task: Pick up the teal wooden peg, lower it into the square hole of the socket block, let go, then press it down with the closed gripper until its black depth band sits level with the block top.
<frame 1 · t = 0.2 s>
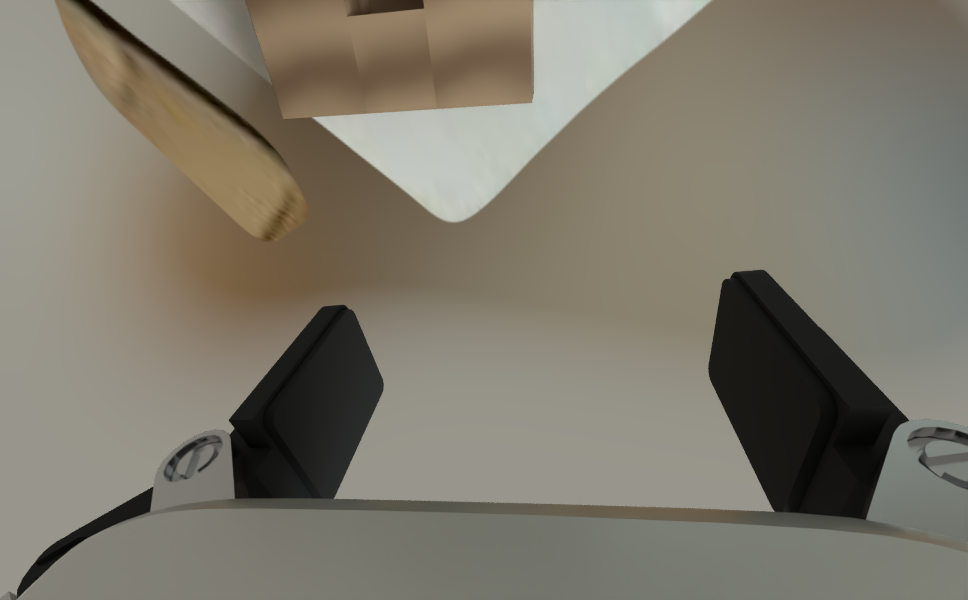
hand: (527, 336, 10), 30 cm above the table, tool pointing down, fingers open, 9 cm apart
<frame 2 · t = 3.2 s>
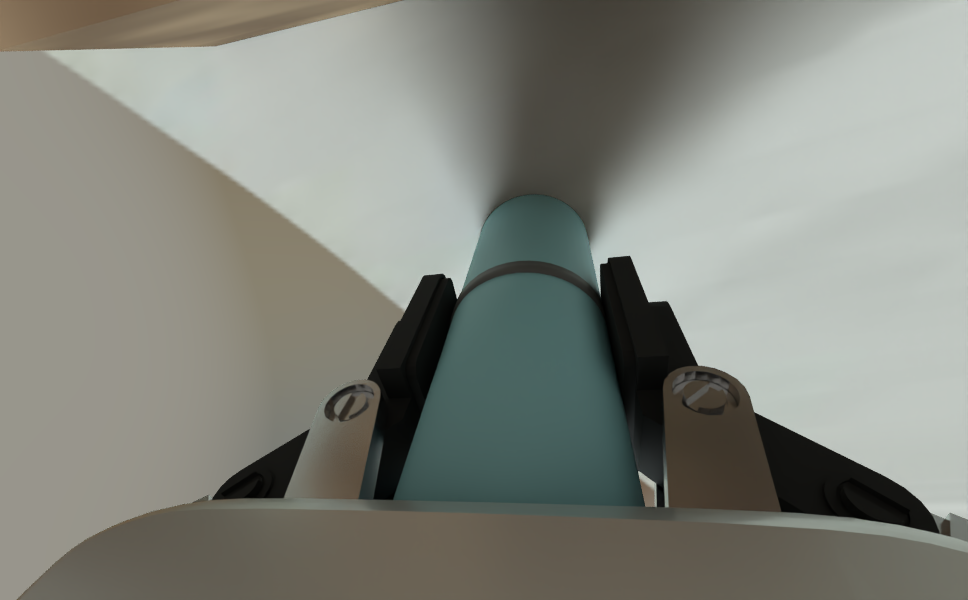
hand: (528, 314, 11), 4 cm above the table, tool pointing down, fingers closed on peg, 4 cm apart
peg: (532, 247, 15), on the table, touching gripper
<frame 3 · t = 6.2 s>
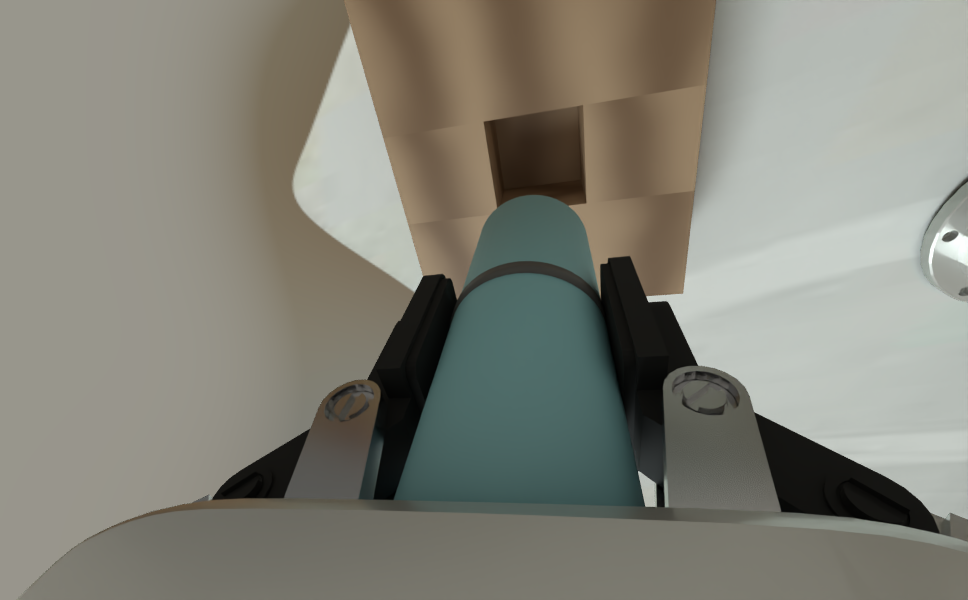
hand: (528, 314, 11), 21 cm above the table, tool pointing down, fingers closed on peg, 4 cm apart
peg: (532, 247, 15), point 17 cm above the table, touching gripper
socket block: (538, 142, 29), on the table
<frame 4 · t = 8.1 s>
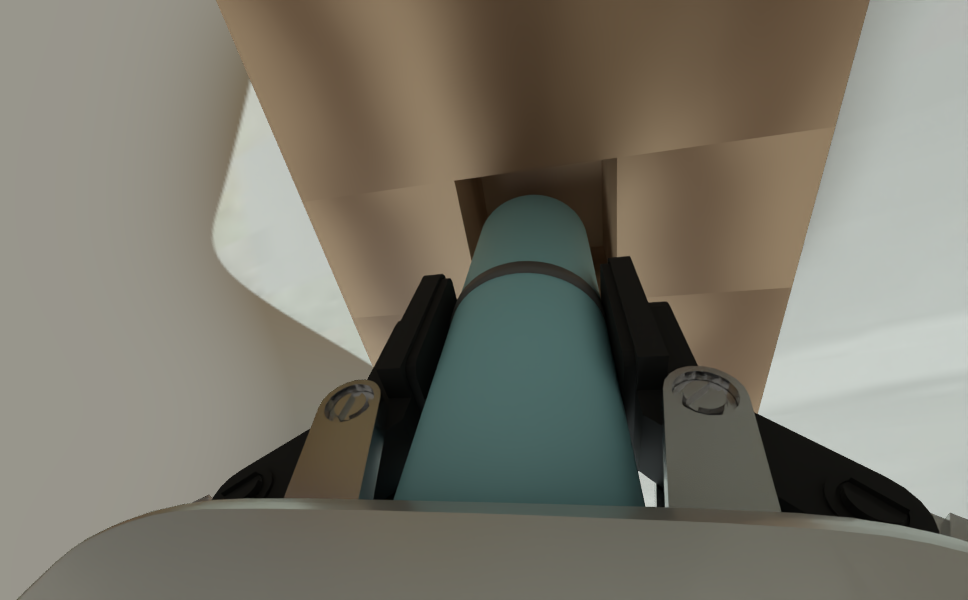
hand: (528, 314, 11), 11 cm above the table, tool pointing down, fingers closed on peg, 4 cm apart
peg: (532, 247, 15), point 6 cm above the table, touching gripper
socket block: (542, 192, 20), on the table
when the fingers open (8 cm above the table, at t = 9.5 s): peg drops 2 cm, resting on socket block.
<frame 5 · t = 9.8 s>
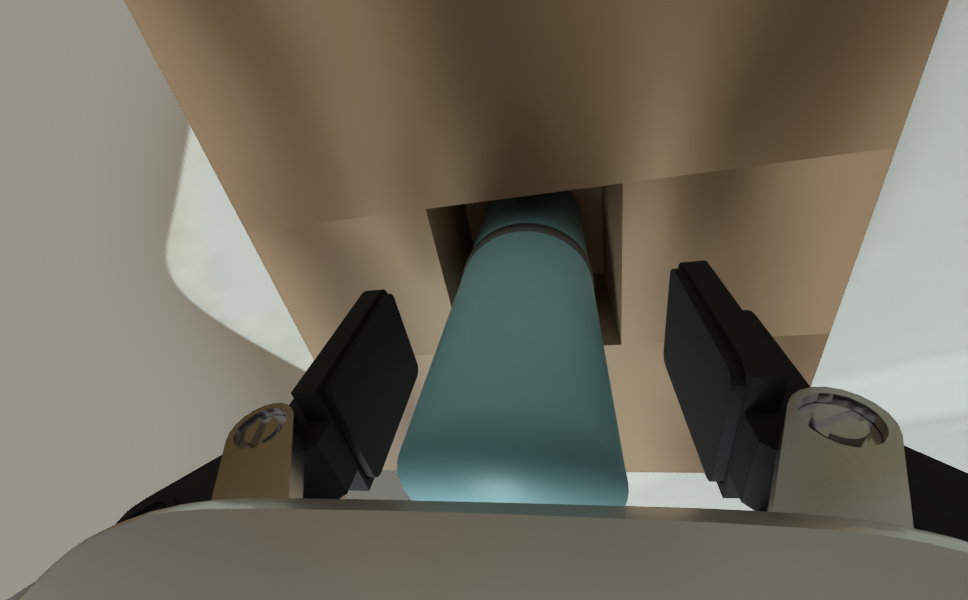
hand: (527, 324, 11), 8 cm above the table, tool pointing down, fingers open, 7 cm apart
peg: (532, 222, 17), point 1 cm above the table, touching socket block
socket block: (534, 213, 18), on the table
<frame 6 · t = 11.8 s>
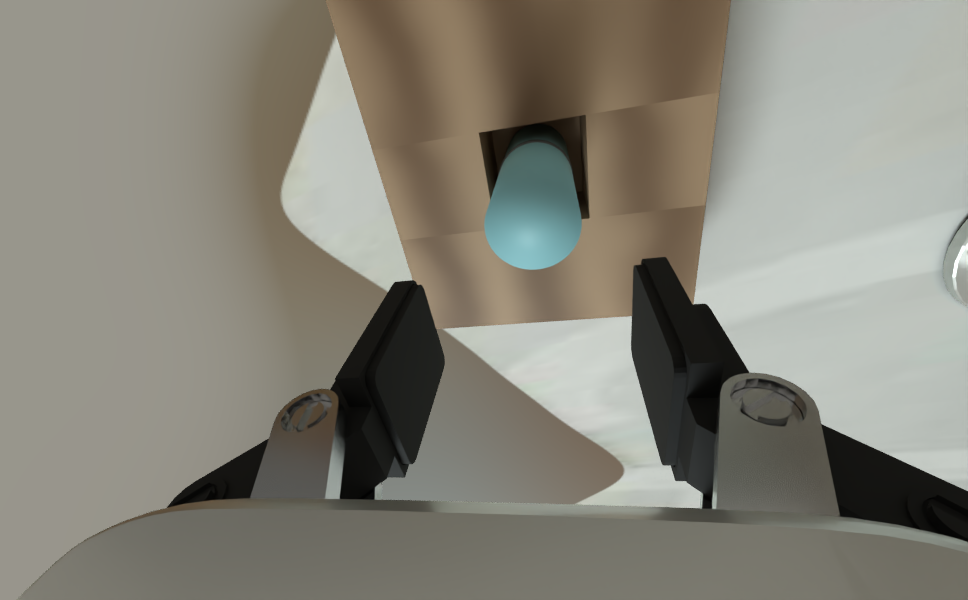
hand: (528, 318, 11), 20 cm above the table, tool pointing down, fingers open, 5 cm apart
peg: (536, 156, 26), point 1 cm above the table, touching socket block
socket block: (537, 151, 27), on the table
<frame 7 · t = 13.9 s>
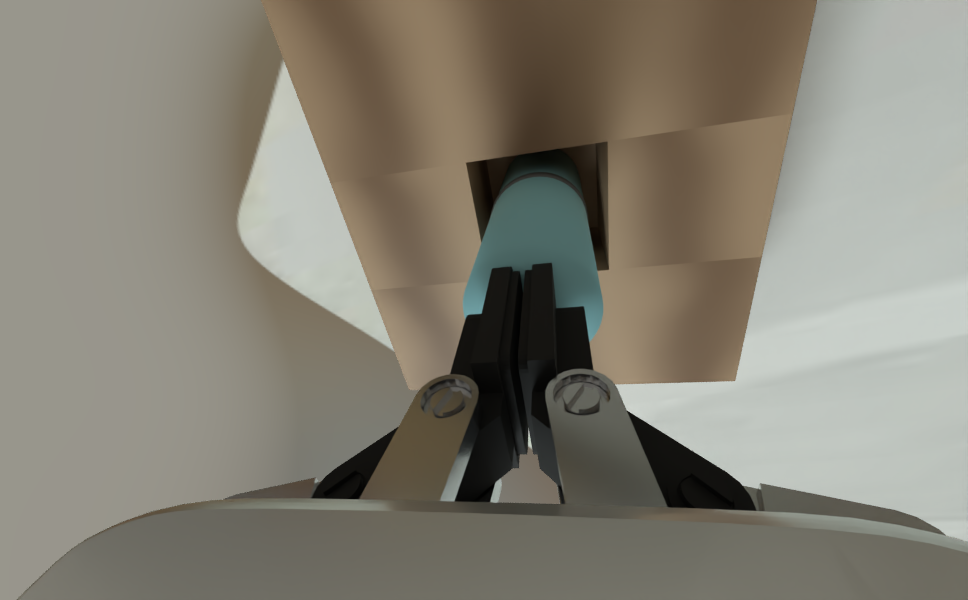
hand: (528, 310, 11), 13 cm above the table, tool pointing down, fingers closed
peg: (541, 184, 21), point 1 cm above the table, touching gripper, socket block
socket block: (542, 178, 22), on the table
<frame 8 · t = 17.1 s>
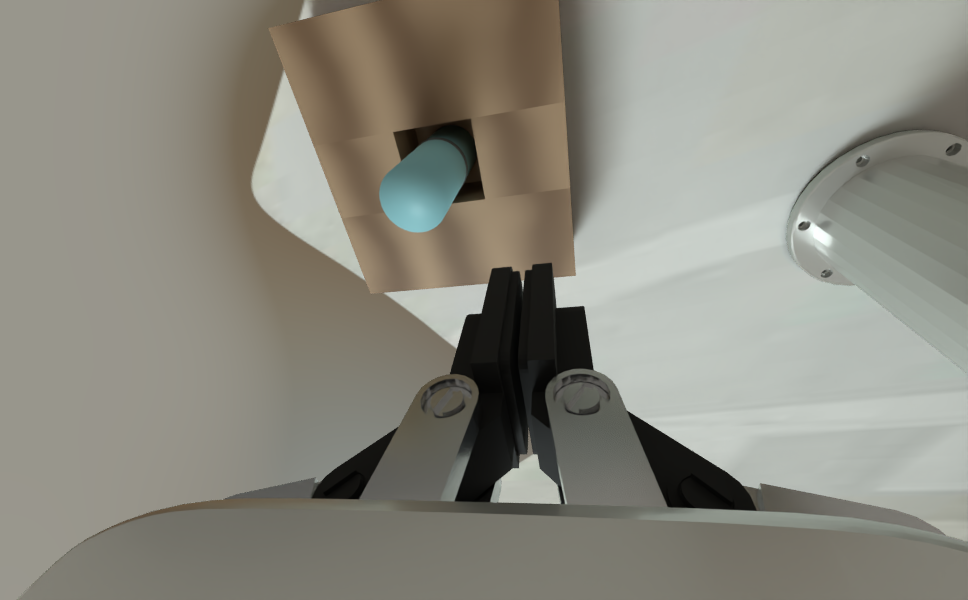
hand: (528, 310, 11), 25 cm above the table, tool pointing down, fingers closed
peg: (453, 151, 33), point 1 cm above the table, touching socket block
socket block: (455, 147, 34), on the table
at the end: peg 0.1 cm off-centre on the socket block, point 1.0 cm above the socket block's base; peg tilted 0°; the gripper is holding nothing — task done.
